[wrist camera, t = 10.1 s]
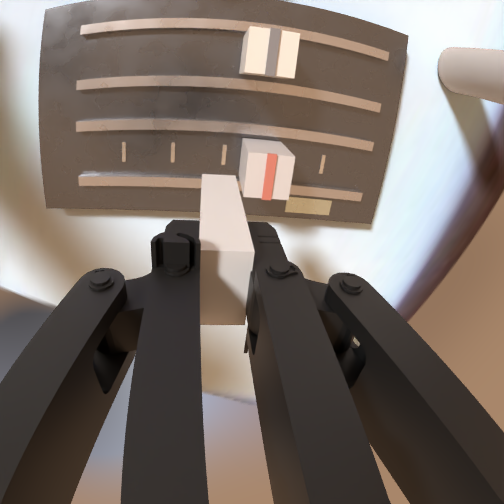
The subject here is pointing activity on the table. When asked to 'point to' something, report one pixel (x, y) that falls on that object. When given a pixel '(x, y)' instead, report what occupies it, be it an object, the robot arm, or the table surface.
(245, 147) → the fader
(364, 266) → the table surface
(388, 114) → the console
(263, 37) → the fader
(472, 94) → the beverage can
